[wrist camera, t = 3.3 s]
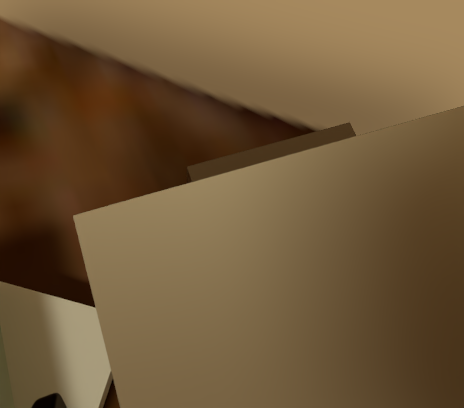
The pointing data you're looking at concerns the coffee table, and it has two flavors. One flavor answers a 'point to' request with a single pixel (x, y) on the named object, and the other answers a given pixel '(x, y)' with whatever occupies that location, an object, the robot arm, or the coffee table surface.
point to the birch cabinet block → (291, 275)
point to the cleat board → (50, 350)
